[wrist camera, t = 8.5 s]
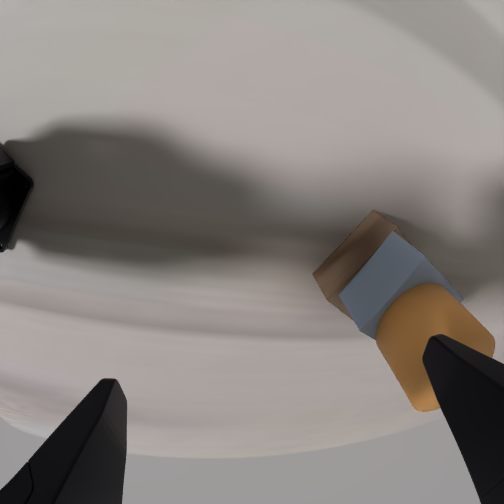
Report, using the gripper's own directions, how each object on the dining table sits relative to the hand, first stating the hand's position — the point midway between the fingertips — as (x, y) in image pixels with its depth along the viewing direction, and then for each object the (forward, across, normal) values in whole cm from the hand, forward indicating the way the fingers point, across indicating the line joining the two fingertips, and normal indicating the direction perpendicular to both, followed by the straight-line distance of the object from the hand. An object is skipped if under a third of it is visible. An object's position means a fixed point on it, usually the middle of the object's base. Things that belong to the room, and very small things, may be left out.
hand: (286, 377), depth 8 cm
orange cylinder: (+6, -9, +4) cm, 11 cm away
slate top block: (+9, -9, +4) cm, 13 cm away
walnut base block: (+13, -9, +4) cm, 16 cm away
